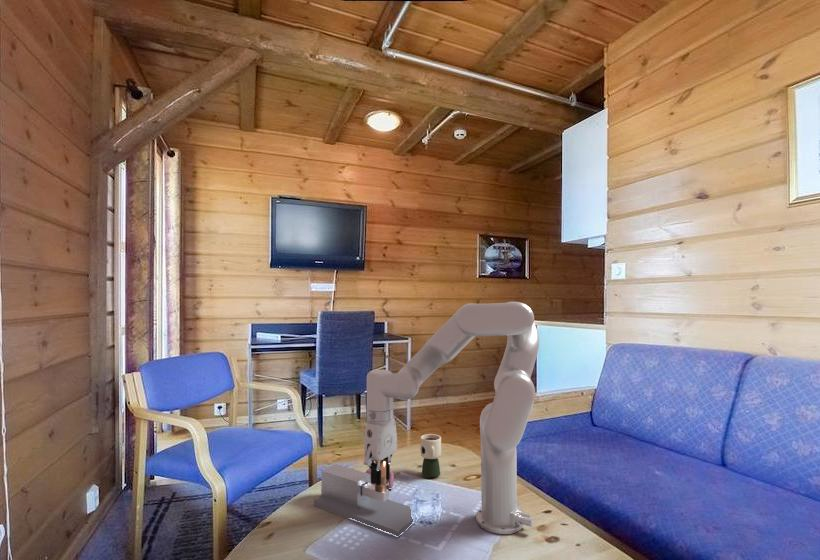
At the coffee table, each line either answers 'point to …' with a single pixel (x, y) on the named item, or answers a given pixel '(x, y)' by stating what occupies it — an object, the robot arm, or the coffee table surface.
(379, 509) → the base board
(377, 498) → the shaft
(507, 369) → the robot arm
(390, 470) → the video game controller
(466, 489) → the coffee table surface
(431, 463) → the character mug
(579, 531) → the coffee table surface
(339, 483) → the block
